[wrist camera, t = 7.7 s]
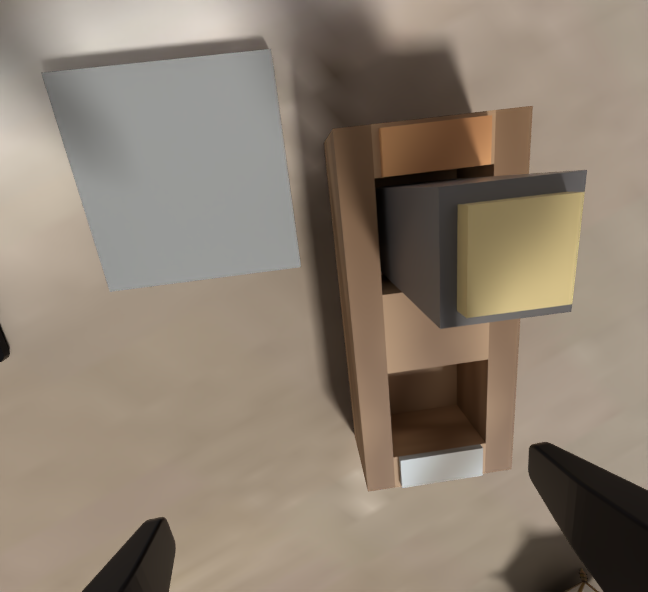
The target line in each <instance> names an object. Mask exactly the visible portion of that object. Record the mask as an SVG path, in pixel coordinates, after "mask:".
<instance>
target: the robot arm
mask: <svg viewBox="0 0 648 592" xmlns="http://www.w3.org/2000/svg"><path fill="white" fill-rule="evenodd" d="M9 355H10V352H9V349H8V347H7V344H6V342H5V340H4V337H3V335H2V333H1V330H0V362H2V361H3V360H5V359H7V358H8V357H9ZM528 472H529V476H530V479H531V481H532V483H533V484H534V486H535V488H536V489H537V491H538V493H539V494H540V496H541V498H542V499H543V501H544V502H545V504H546V506H547V507H548V509H549V511H550V512H551V514H552V516H553V517H554V519H555V521H556V522H557V524H558V526H559V527H560V529H561V531H562V532H563V534H564V536H565V537H566V539H567V540H568V542H569V544H570V545H571V547H572V548H573V550H574V551H575V552H576V554H577V555H578V557H579V558H580V560H581V561H582V562H583V564H584V565H585V566H586V568H587V569H588V571H589V572H590V573H591V575H592V576H593V577H594V579H595V580H596V582H597V583H598V584H599V586H600V587H601V589H602V590H603V591H604V592H648V490H646V489H644V488H642V487H640V486H638V485H636V484H634V483H631V482H629V481H627V480H625V479H623V478H621V477H619V476H617V475H615V474H613V473H611V472H609V471H607V470H605V469H603V468H601V467H598V466H596V465H594V464H592V463H590V462H588V461H586V460H584V459H582V458H580V457H578V456H576V455H574V454H572V453H570V452H568V451H565V450H563V449H561V448H559V447H557V446H555V445H553V444H551V443H548V442H542V443H537V444H532V445H531V446H530V448H529V462H528ZM175 549H176V547H175V540H174V538H173V535H172V532H171V530H170V527H169V524H168V522H167V520H166V518H164V517H160V518H154V519H149V520H147V521H145V522H144V523H143V524H142V525H141V526H140V528H139V529H138V530H137V531H136V532H135V533H134V534H133V535H132V536H131V538H130V539H129V540H128V541H127V542H126V543H125V544H124V545H123V546H122V548H121V549H120V550H119V551H118V552H117V553H116V554H115V555H114V556H113V557H112V559H111V560H110V561H109V562H108V563H107V564H106V565H105V566H104V567H103V569H102V570H101V571H100V572H99V573H98V574H97V575H96V576H95V577H94V579H93V580H92V581H91V582H90V583H89V584H88V585H87V586H86V587H85V589H84V590H83V591H82V592H169V587H170V581H171V575H172V569H173V563H174V557H175Z"/></svg>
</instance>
